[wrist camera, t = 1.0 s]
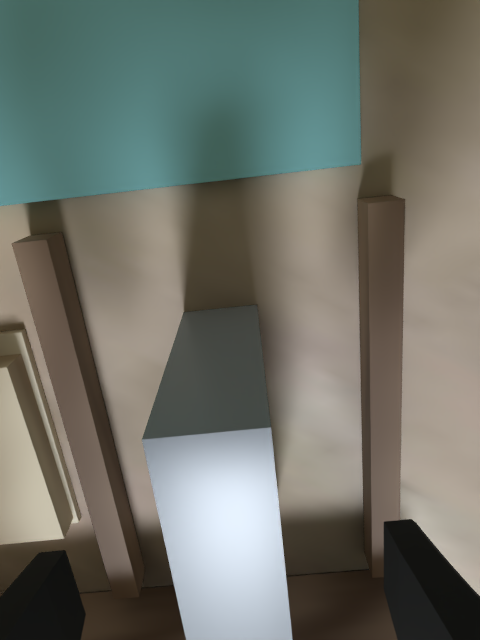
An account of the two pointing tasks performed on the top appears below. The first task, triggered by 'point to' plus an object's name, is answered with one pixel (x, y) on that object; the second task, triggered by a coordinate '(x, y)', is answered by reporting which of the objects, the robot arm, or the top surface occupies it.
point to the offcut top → (27, 464)
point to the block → (219, 480)
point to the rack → (106, 479)
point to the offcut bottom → (40, 406)
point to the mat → (173, 93)
